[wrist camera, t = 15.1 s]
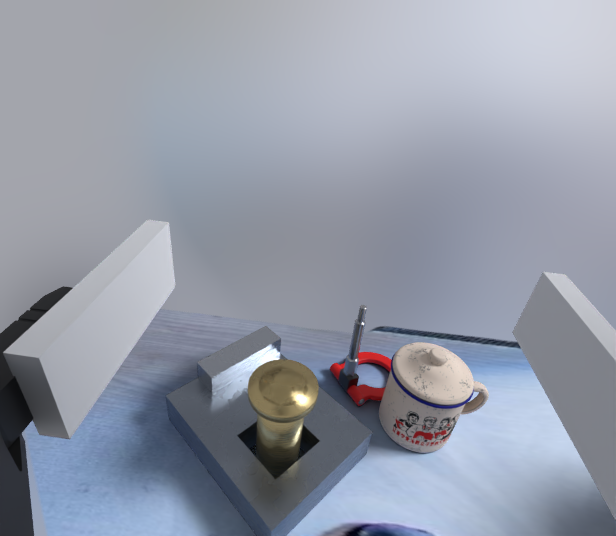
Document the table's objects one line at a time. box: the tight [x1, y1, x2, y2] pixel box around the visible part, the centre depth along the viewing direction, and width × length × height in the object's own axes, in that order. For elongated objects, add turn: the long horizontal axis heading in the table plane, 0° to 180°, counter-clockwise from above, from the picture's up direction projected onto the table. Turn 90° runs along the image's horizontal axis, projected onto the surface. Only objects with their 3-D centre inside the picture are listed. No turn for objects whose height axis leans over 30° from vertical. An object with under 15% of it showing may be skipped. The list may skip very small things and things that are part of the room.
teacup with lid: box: [379, 342, 489, 453], centre depth 44 cm, size 12×9×12 cm
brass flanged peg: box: [248, 359, 319, 480], centre depth 38 cm, size 6×6×12 cm
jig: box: [166, 326, 373, 536], centre depth 42 cm, size 18×14×6 cm
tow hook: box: [330, 305, 391, 406], centre depth 49 cm, size 8×13×9 cm
